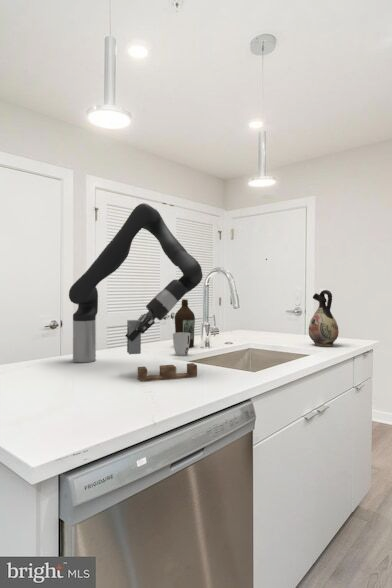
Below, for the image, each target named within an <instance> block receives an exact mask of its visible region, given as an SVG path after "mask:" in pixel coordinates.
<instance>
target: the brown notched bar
mask: <svg viewBox="0 0 392 588" xmlns="http://www.w3.org/2000/svg"><path fill="white" fill-rule="evenodd" d="M197 377H198V365H197V364H196V363H195V362H192V363H189V362H188V363H186V372H177V366H176V365H174V364H164V365H163V364H160V365H159V374H152V375H148V368H147V367H146V366H138V367H137V380H138V381H139V382H150V381H151V382H152V381H161V380H173V379H185V378H186V379H187V378H197Z"/></svg>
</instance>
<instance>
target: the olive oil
mask: <svg viewBox="0 0 392 588" xmlns="http://www.w3.org/2000/svg"><path fill="white" fill-rule="evenodd" d="M188 301H189V300H188V299H187V298H186V299H185V298H184V299H181V306H180V308H179V309H178V310H177V311H176V313H175V316H174V331H175V332H174V333H178V332H186V333H190V344H189V349H192V348H194V347H195V327H196V326H195V324H196V318H195V317H196V316H195V314H194V312H193V311H192V310H191V308H190V307H189V302H188Z"/></svg>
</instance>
